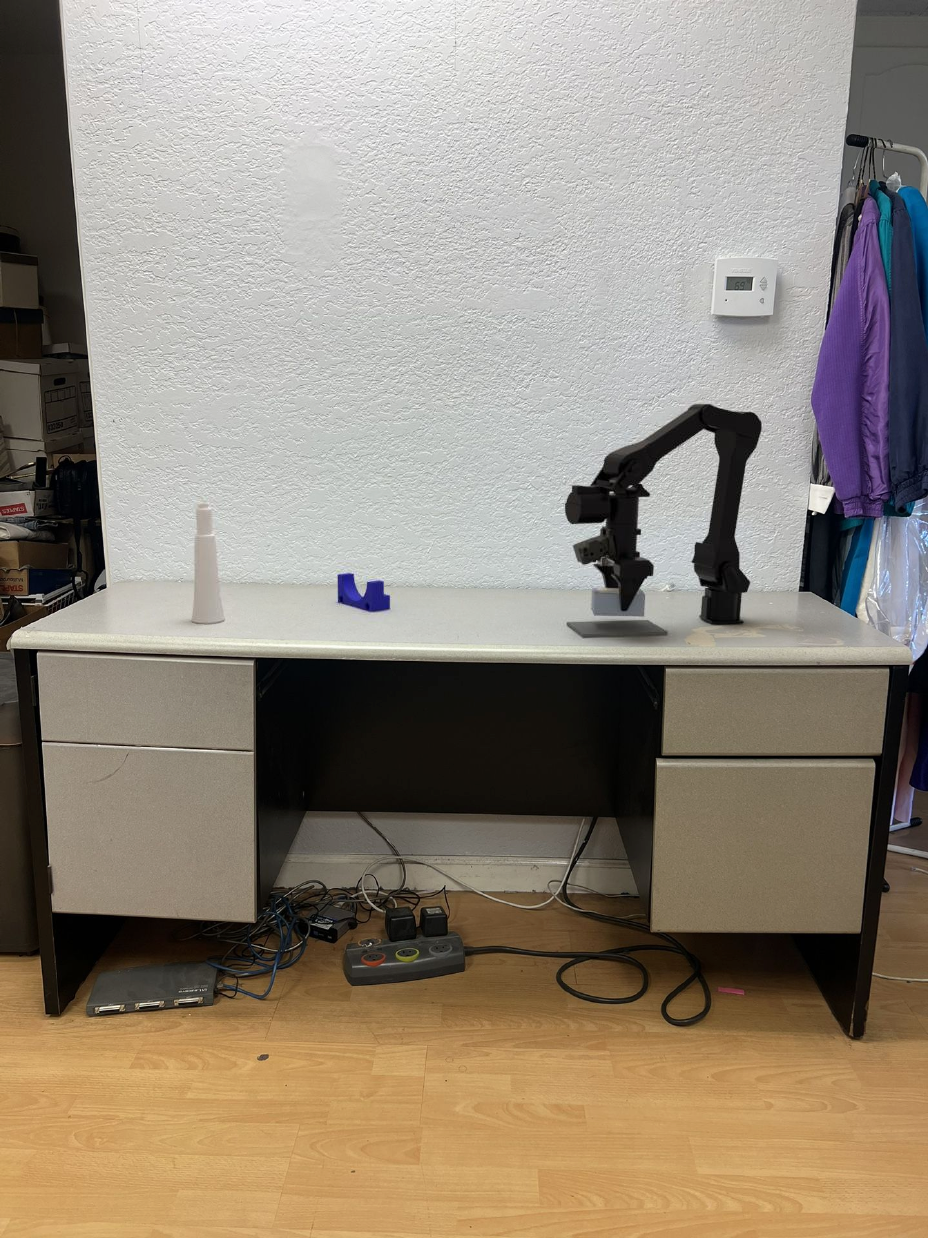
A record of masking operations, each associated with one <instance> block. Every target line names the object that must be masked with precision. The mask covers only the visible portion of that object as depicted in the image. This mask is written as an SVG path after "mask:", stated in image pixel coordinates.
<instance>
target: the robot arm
mask: <svg viewBox="0 0 928 1238" xmlns="http://www.w3.org/2000/svg"><path fill="white" fill-rule="evenodd" d="M762 425H763V424H762V420H761V419H760V417H759V416H758V415H757V414H756V413H755V412H752V411H736V410H735V411H733V410H729V409H726V408H720V407H718V406H715V405H713V404H710V403H694V404H692V405H691V406H689V407H688V408H687V409H686V411H684V412H682V413H681V414H680V415H677V416H676V417H675V418H673V419H672V420H671V421H669V422H668V423H666V424H665V425H663V426H661V427H660V428H659V429H658V430H656V431H654V432H653V433H652V434H650V435H648V436H646V437H645V438H643V440H641V441H637V442H636V443H632V444H629V445H626V446H622V447H620V448H618V449H615V450H613V451H611V452H609V453H608V454H607V455H606V456H605V458H604V459H603V464H602V468H601V469H600V470H599V472H597V475H596V476H595V478H594V479H593V480H592V481H591V483H590V485H580V484H573V485H572V486H571V492H570V493H569V494H568V495H567V498H566V502H565V503H564V512H565V517H566V519H567V521H568V523H570V524H571V525H587V524H588V525H591V524H602V523H604V522H605V526H604V525H603V526H601V528H599V529H600V530H599V535H597V536H594V537H590V538H588V539H585V540H582V541H579V542H577V543H575V544H573V545H572V548H573V551H574V555H575V558H576V561H577V562H578V563H581V565H583V566H586V565H589V564H591V563H593V564H592V565H593V568H595V569H596V570H598V572H599V573H600V574H601V576H602V580H603V584H604V588H619V598H620V607H621V611H627V610H628V608H629V607H630V605H631V603H632V601H633V599H634V597H635V595H636V594H637V592H638V590H639V589H641V587H642V586H643V583H644V582H645V580H646V579H648V577H653V576H654V570H655V569H654V568H655V565H654V564H653V563H652V562H651V560H649V559H647V558H644V557H643V556H641V552H640V551H638V550H637V547H638V546H637V543H638V536H642V529H641V528H638V523H639V505H640V504H639V503H640V498H649V497H650V496H651V493H650V492H649V491H648V490H647V489H646V488H645V487H644V485H643V484H642V483H641V482H643V480H645V478H646V477H648V476H649V474H651V473H652V472H653V471H654V468H655V466H656V464H657V463H658V462H659V461H660V460H661V459H663V457H665V456H666V455H668V454H669V453H671V452H673V451H674V450H676V449H677V448H678V447H680V446H681V445H683V444H684V443H686V442H687V441H688V440H690V439H691V438H693V437H694V436H696V435H697V434H698V433H700V432H701V431H703V430H704V431H707V432H710V433H713V434H714V438H713V439H714V440H713V441H714V446H715V449H716V452H717V455H718V457H719V459H718V466H717V473H716V480H715V486H714V493H713V498H712V499H713V500H712V507H711V513H710V520H709V526H708V527H709V528H708V532H707V535H706V536H705V538H704V540H703V541H702V542H698V541H696V542H695V544H694V547H693V548H694V553H693V557H692V560H691V563H692V564H693V571H694V573H695V574H696V576H697V577H698V580H699V584H700V587H702V588H703V587H704V595H702V597H701V606H700V607H701V608H700V614H699V615H698V616H699V618H700V619H702V620H704V621H706V622H708V623H710V624H711V625H720V624H721V625H727V624H744V622H745V621H744V620H743V619H742V618H741V609H742V594H743V593H744V594H745V593H748V590H749V588H750V585H751V581H750V580H749V578H748V577H747V576H746V575H745V573H744V572H743V570H741V569H740V566H741V565H740V564H741V563H740V558H741V556H740V555H741V553H740V550H739V547H738V544H737V541H736V530H737V524H738V523H737V522H738V518H739V512H740V511H739V509H740V504H741V498H742V493H743V485H744V478H745V473H746V466H747V462H748V460H749V458H750V457H751V456H752V454H753V452H754V451H755V450H756V449H757V446H758V443H759V440H760V437H761V432H762V430H763V429H762V428H763V426H762ZM640 556H641V557H640Z"/></svg>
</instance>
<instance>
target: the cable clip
mask: <svg viewBox="0 0 928 1238" xmlns="http://www.w3.org/2000/svg"><path fill="white" fill-rule="evenodd" d="M337 603H339V604H343V605H345V606H349V607H352V608H354V609H355V608H356V609H359V610H362V611H365V612H370V613H375V612H376V613H377V612H382V611H388V610H391V595H390V594H386V593H385V582H384V580H380V579H379V580H372V581H371V580H370V581H366V589H365V592H364V595H361V593H360V592H359V590H358V588H357V585H356V582H355V574H354V573H352V572H348V573H347V572H346V573H345V572H344V573H338V574H337Z"/></svg>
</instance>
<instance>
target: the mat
mask: <svg viewBox="0 0 928 1238" xmlns="http://www.w3.org/2000/svg"><path fill="white" fill-rule="evenodd" d="M566 626H567V627H568V628H570V629H571V630H572V631H574V632H575V633H576V634H577V635H579V636H580V637H581V638H605V637H606V638H610V637H612V638H613V637H614V636H615V637H644V636H645V637H647V636H649V637H650V636H668V633H669V632H668V630H665V629H664V628H663V627H660V626H659V625H657V624H655V623H654V622H652V621H650V620H649V619H637V620H636V619H633V620H632V619H631V620H629V619H628V620H627V619H626V620H624V619H623V620H597V621H596V620H595V621H593V620H591V621H587V620H586V621H566ZM615 637H614V638H615Z"/></svg>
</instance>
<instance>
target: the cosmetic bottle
mask: <svg viewBox="0 0 928 1238" xmlns="http://www.w3.org/2000/svg"><path fill="white" fill-rule="evenodd" d="M210 504H211V503H210V501H209V502H206V501H201V502H197V503H196V506H197V507H196V509H195V518H196V519H195V521H196V534H195V535H194V547H193V548H194V549H193V550H194V552H193V553H194V556H193V558H194V560H193V561H194V562H193V563H194V564H193V565H194V567H193V568H194V569H193V570H194V571H193V572H194V574H193V575H194V581H193V582H194V583H193V585H194V586H193V588H194V589H193V590H194V591H193V603H192V604H193V606H192V614H191V622H192V623H195V624H199V625H201V624H202V625H205V624H206V625H207V624H209V625H210V624H211V625H212V624H218V623H222V622H224V621H225V620H226V617H225V614H224V607H223V602H222V597H221V595H222V594H221V588H220V587H221V586H220V578H219V565H218V564H219V563H218V555H217V554H218V553H217V544H216V534H214V533H213V515H212V510H213V509H212V507H210Z"/></svg>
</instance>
